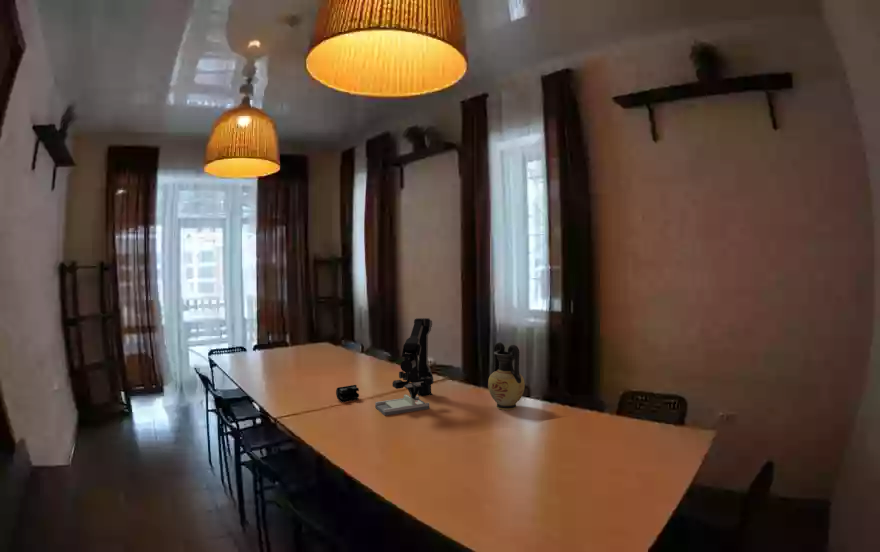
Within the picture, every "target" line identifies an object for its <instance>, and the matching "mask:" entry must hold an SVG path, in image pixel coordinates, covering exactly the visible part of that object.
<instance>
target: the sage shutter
mask: <svg viewBox="0 0 880 552" xmlns="http://www.w3.org/2000/svg"><path fill="white" fill-rule="evenodd" d="M403 398H404V399H403V400H396V401H388V402H385V404H386V405H388V406H389V407H390V408H395V407H402V406H409V405H415V400H414V399H413V398H411V396H409V394H403Z"/></svg>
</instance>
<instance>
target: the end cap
mask: <svg viewBox="0 0 880 552" xmlns="http://www.w3.org/2000/svg"><path fill="white" fill-rule="evenodd" d="M359 391H360V389H359V387H357V384H351V385H344V386H339V387H336V390H335V395H336V398H337V400H338V401H339V402H341V403H348V402H353V401H358V400H359V397H360V393H359Z"/></svg>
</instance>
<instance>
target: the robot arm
mask: <svg viewBox="0 0 880 552" xmlns="http://www.w3.org/2000/svg"><path fill="white" fill-rule="evenodd" d="M432 328H433V321H432V320H431V319H430V317H429V318H427V317H426V318H425V317H422V318H421V317H420V318H418V317H417V318H414V320H413V327H412V330H411V334H410V336H409V337H408V338H406V339H405V342H404V343H403V346H402V353H401V358H404V359H403V360H402V362H401V363H400V369H401V371H399V372H398V378H399V379H397V380H396V379H395V380H393V381H392V387H393V388H395V389H396V390H399V389H403V388H406V389H407V390H408V394H409V395H410V397H411V398H413V399H414V400H415V397H416V396H419V397H425V396H432V395H433V393H432V385H433V384H434V380H435V379H434V376H433V373H432V368H431V367H430V365H429V363H428V362H429V334H430V333H431V331H432ZM401 379H402V380H401Z"/></svg>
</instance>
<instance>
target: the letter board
mask: <svg viewBox="0 0 880 552" xmlns="http://www.w3.org/2000/svg"><path fill="white" fill-rule="evenodd" d="M403 399H404V397H403V398H396V399H388V400H382V401H375V403H374V407H375V409H376V410H377V411H378V412H380V413H381V414H382V415H383V416H391V415H397V414H398V415H399V414H405V413H411V412H418V411H425V410H430V402H424V401H423V400H421V399H420V395H416V397H415V405H409V406H402V407H395V408H390V407H389V406H388V405H386V404H385V402H388V401H396V400H403Z"/></svg>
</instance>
